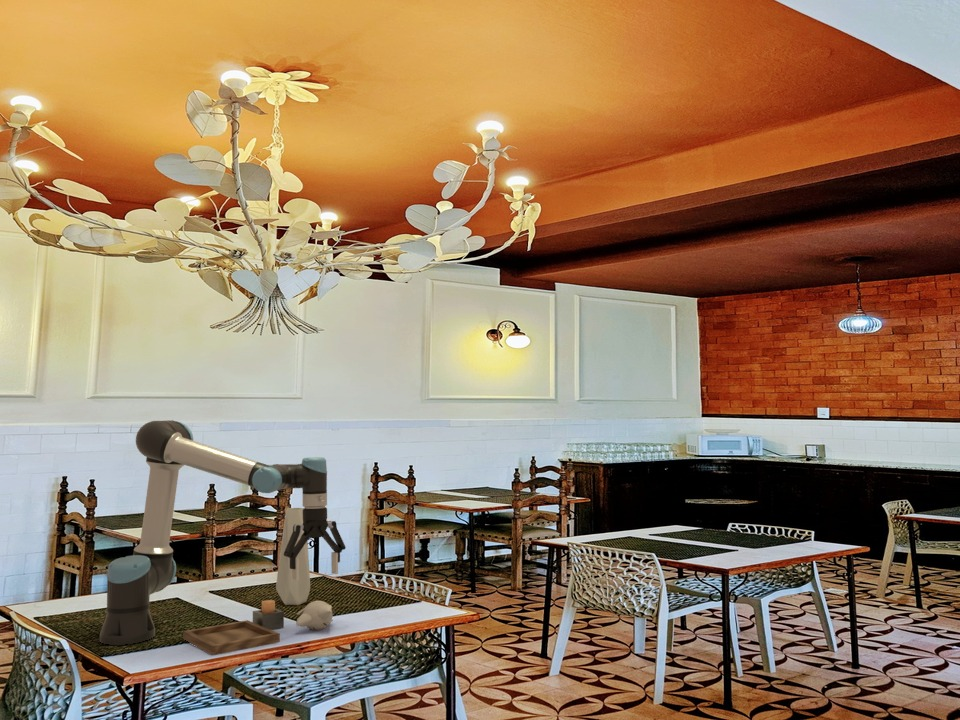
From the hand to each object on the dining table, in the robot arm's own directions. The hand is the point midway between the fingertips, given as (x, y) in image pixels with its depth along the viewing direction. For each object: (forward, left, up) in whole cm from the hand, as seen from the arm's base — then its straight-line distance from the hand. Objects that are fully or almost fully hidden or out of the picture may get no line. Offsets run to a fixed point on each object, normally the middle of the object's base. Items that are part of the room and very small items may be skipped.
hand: (315, 576), depth 254 cm
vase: (+13, +37, -16) cm, 42 cm away
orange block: (-10, +11, -13) cm, 20 cm away
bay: (-25, +4, -16) cm, 30 cm away
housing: (-10, +11, -16) cm, 22 cm away
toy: (0, 0, -16) cm, 16 cm away
